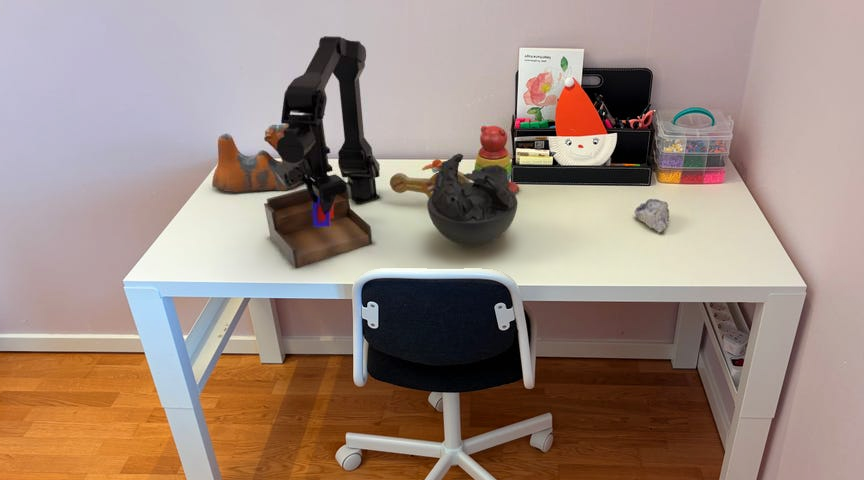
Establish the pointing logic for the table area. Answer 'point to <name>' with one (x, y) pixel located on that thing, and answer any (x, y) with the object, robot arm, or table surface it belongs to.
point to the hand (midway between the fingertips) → (321, 209)
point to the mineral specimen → (653, 214)
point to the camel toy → (248, 165)
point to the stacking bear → (495, 152)
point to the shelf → (313, 228)
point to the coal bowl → (472, 204)
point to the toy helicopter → (420, 180)
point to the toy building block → (321, 216)
